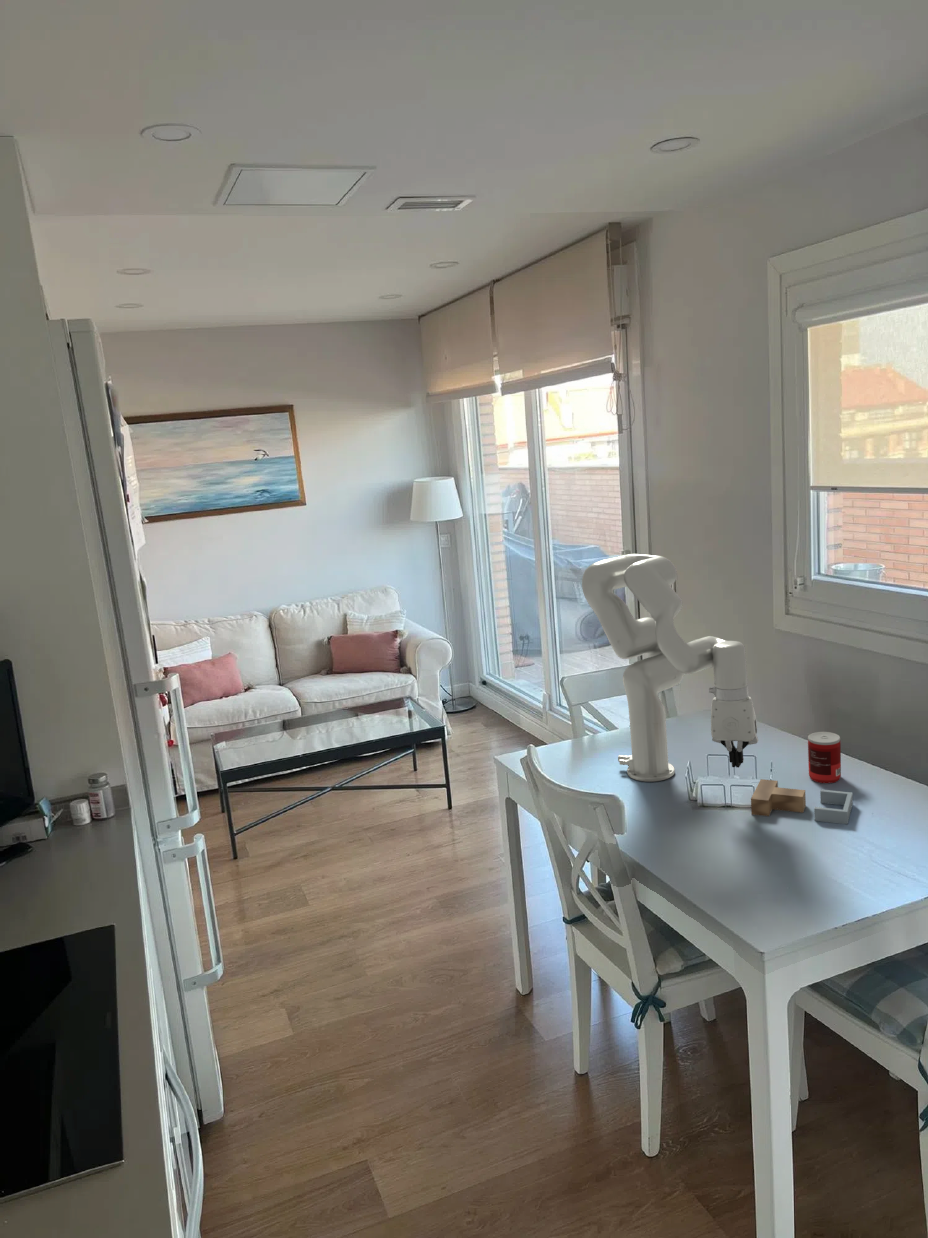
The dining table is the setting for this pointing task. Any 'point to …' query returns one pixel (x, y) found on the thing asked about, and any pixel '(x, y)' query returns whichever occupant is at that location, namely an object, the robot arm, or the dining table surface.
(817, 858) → the dining table surface
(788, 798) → the t block
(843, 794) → the bracket
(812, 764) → the canned food
